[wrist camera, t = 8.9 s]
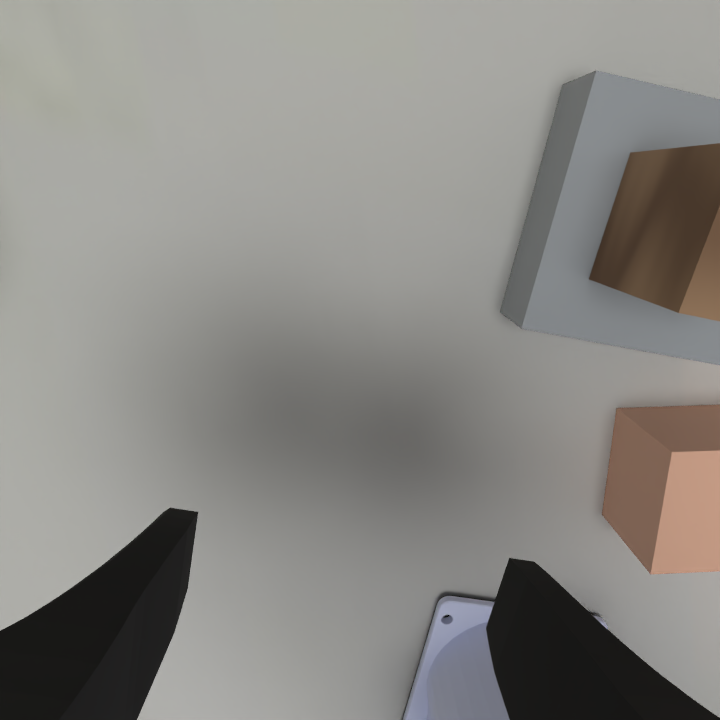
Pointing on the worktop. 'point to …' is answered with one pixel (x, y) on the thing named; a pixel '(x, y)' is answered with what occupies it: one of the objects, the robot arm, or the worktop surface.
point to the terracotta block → (667, 486)
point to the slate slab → (603, 216)
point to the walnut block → (666, 231)
